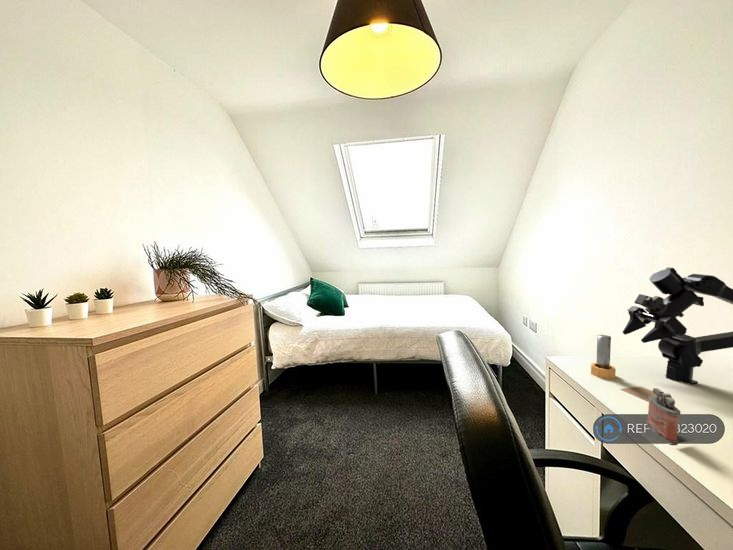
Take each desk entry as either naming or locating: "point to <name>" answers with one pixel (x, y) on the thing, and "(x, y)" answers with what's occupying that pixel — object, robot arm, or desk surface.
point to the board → (639, 392)
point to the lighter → (663, 416)
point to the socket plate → (603, 372)
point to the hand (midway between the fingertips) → (632, 337)
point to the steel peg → (603, 351)
